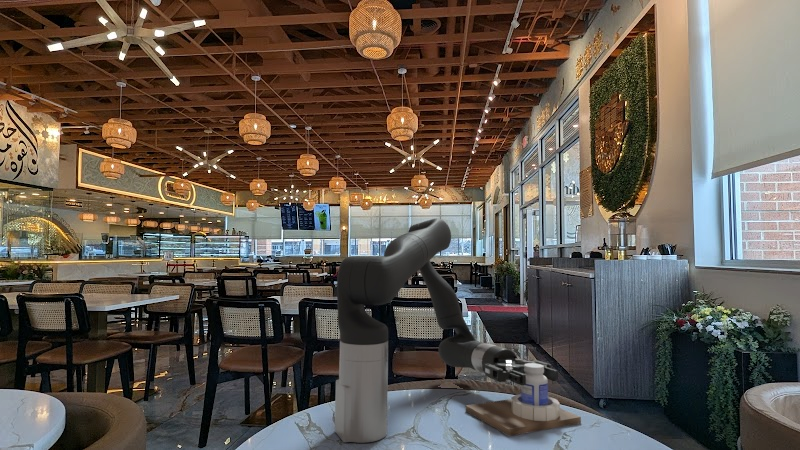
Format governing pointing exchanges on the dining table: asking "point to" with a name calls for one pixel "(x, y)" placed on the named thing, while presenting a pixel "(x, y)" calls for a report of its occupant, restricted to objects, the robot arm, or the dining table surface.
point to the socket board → (516, 418)
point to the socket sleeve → (535, 409)
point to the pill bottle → (534, 386)
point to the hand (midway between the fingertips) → (541, 378)
